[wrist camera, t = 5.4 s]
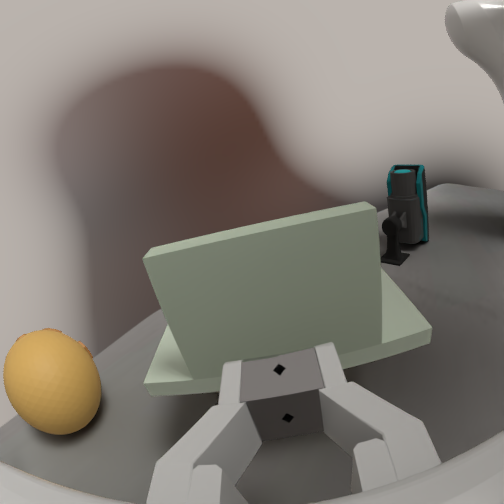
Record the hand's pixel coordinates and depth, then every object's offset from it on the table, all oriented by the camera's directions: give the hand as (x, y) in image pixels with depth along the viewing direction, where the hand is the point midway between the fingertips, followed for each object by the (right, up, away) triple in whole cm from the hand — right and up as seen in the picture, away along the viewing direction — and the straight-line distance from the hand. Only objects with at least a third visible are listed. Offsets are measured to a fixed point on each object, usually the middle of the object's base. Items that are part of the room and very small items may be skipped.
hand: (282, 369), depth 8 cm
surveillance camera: (+22, +3, +33) cm, 40 cm away
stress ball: (-18, -13, +14) cm, 26 cm away
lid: (+1, 0, +12) cm, 12 cm away
